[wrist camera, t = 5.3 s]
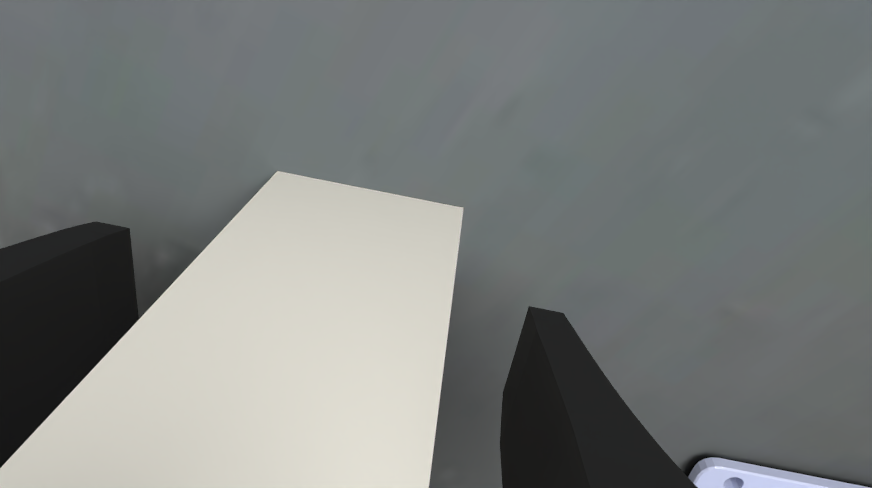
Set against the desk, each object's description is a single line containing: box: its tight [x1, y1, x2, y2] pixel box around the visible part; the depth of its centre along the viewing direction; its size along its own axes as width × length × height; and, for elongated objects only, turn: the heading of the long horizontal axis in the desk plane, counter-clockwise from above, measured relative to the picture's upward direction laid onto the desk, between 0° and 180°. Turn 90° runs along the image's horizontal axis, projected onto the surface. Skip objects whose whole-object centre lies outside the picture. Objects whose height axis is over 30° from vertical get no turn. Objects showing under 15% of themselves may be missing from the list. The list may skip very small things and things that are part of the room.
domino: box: [0, 171, 463, 488], centre depth 10 cm, size 4×2×9 cm, turn 80°
